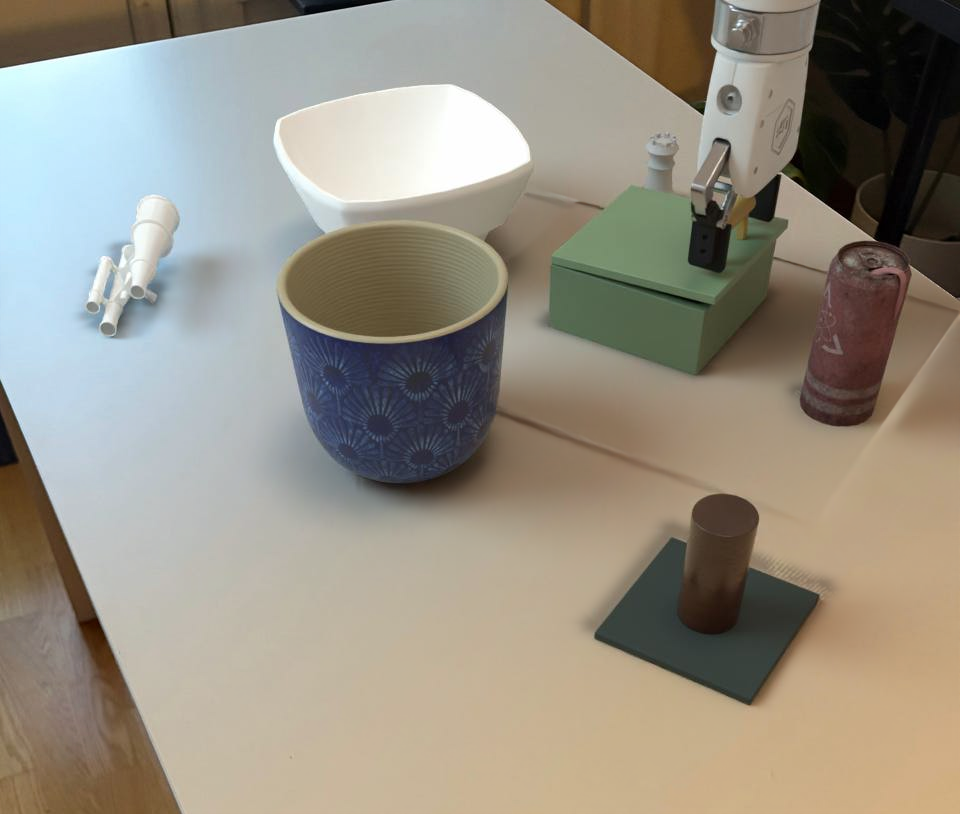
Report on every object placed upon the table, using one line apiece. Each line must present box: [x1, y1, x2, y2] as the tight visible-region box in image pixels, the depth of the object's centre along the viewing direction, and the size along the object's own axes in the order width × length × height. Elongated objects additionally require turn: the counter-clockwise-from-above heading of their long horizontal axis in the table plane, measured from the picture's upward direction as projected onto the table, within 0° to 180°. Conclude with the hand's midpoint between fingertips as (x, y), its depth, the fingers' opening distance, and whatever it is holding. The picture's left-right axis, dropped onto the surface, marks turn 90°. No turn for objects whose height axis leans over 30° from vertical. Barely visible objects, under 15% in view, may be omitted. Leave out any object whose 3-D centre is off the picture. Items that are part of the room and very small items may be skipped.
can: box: [799, 240, 913, 428], centre depth 97 cm, size 6×6×14 cm
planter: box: [276, 220, 509, 484], centre depth 95 cm, size 17×17×15 cm
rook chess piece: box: [643, 131, 680, 195], centre depth 122 cm, size 4×4×8 cm
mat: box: [594, 536, 821, 706], centre depth 87 cm, size 12×12×1 cm
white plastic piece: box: [84, 194, 181, 338], centre depth 114 cm, size 8×14×5 cm
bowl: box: [272, 83, 535, 242], centre depth 115 cm, size 22×22×12 cm
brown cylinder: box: [677, 493, 760, 634], centre depth 83 cm, size 4×4×9 cm
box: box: [548, 240, 777, 376], centre depth 110 cm, size 15×15×7 cm
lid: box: [550, 184, 789, 305], centre depth 105 cm, size 16×15×5 cm
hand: (731, 241), depth 103 cm, fingers open, 9 cm apart
